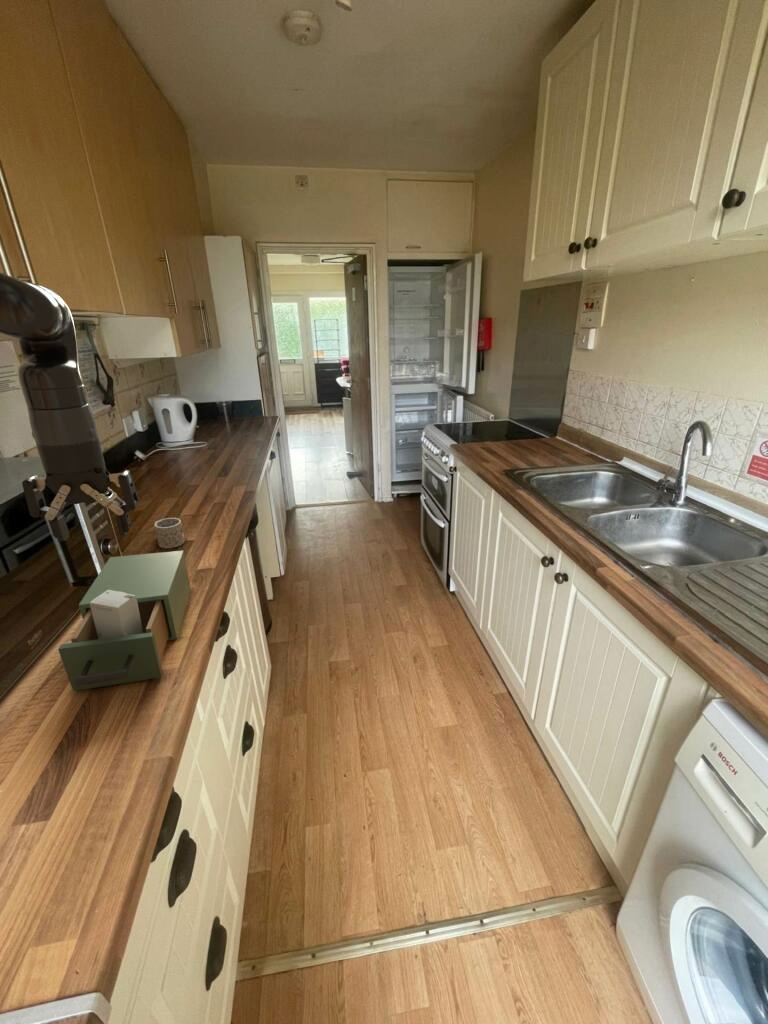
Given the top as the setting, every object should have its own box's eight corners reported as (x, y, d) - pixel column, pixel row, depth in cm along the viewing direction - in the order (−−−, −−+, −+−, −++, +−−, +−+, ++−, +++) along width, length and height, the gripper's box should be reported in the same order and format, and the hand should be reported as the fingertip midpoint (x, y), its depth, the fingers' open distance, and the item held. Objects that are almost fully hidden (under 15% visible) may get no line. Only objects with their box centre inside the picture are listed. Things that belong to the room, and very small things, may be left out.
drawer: (155, 699, 70) (144, 656, 67) (60, 714, 67) (43, 671, 63) (178, 619, 89) (171, 582, 86) (105, 628, 86) (94, 591, 82)
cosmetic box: (102, 658, 77) (85, 602, 72) (122, 642, 81) (107, 588, 76) (131, 665, 75) (115, 608, 71) (149, 648, 79) (136, 593, 75)
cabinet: (177, 640, 85) (167, 594, 80) (93, 652, 81) (78, 605, 77) (191, 590, 100) (183, 550, 96) (121, 598, 97) (110, 557, 93)
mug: (189, 542, 122) (185, 521, 119) (167, 551, 117) (163, 530, 114) (169, 533, 127) (165, 513, 124) (147, 542, 122) (142, 520, 119)
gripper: (128, 429, 67) (149, 523, 73) (23, 432, 64) (54, 530, 70) (114, 441, 60) (137, 543, 67) (-6, 445, 57) (32, 552, 63)
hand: (94, 536), depth 68 cm, fingers open, 8 cm apart
